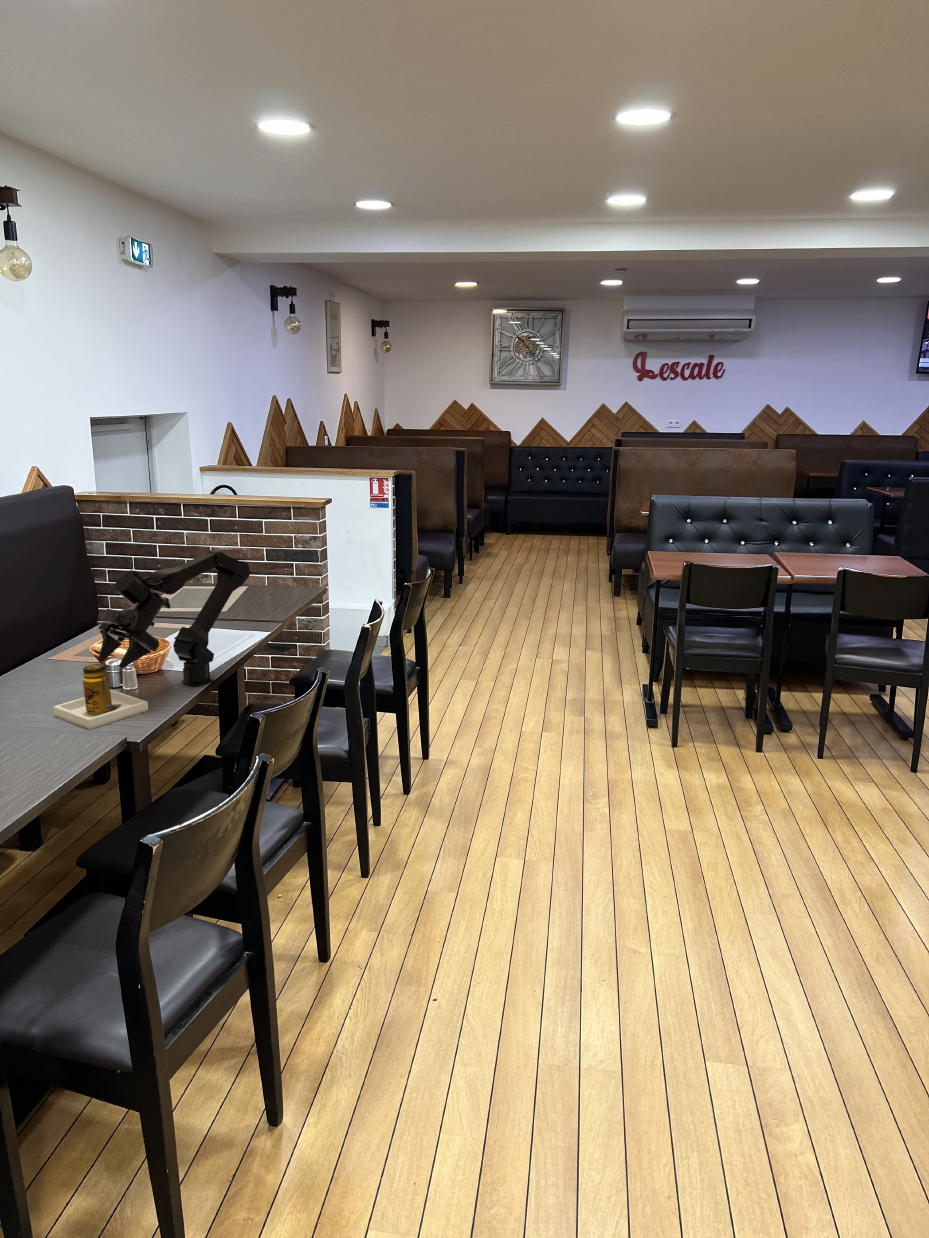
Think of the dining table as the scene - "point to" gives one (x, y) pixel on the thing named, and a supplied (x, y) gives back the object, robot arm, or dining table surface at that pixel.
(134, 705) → the tray
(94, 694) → the condiment
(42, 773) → the dining table surface
